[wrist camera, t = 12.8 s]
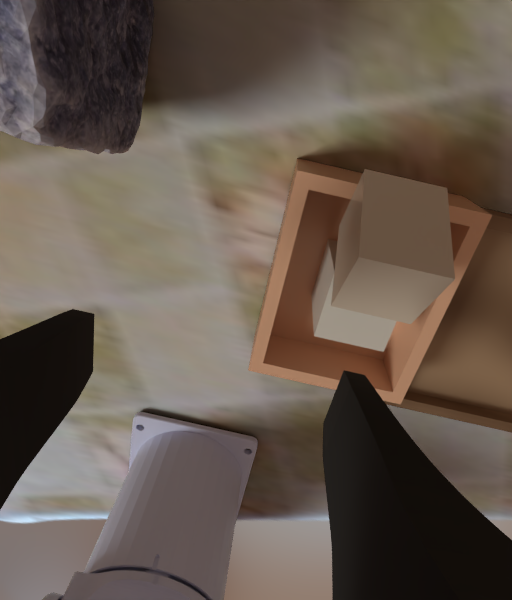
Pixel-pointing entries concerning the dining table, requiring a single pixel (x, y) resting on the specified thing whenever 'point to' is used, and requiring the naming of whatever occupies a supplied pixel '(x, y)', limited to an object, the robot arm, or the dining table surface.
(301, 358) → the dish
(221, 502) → the robot arm
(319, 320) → the stone grey
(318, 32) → the dining table surface
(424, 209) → the stone beige
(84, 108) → the rock
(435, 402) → the tray
